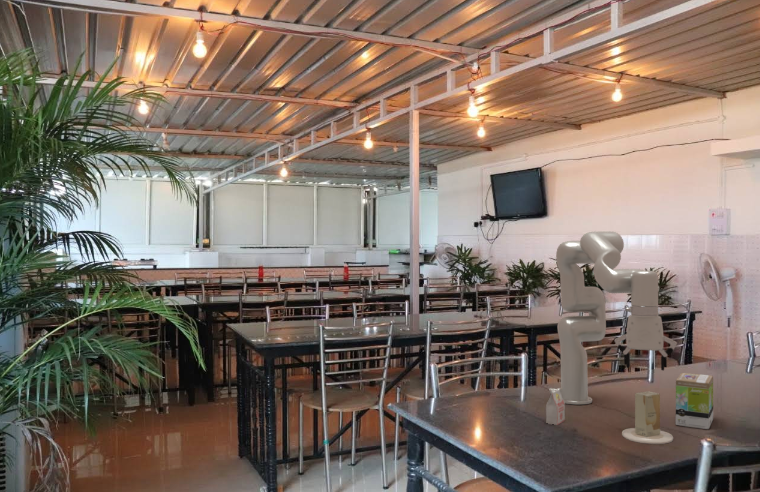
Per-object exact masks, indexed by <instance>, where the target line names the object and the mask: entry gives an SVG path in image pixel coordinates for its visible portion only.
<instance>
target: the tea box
mask: <svg viewBox="0 0 760 492" xmlns="http://www.w3.org/2000/svg"><path fill="white" fill-rule="evenodd" d="M713 420H714V376H713V375H708V374H699V373H698V374H697V373H688V372H680V374H679V375H678V377H677V378H676V379H675V425H676V426H681V427H686V428H696V429H700V430H701V429H704V430H709V429H710V428H711V425H712V423H713Z"/></svg>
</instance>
